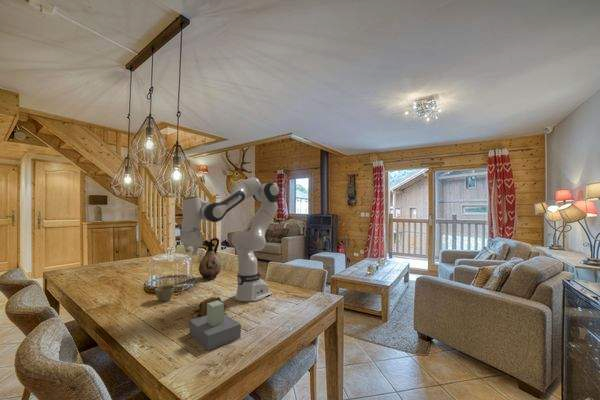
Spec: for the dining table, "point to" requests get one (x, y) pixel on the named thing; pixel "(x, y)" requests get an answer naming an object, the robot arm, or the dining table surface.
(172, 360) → the dining table surface
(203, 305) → the wooden carving
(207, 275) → the ceramic jug
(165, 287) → the flower pot
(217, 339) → the slate block
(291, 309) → the dining table surface
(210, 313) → the sage block
